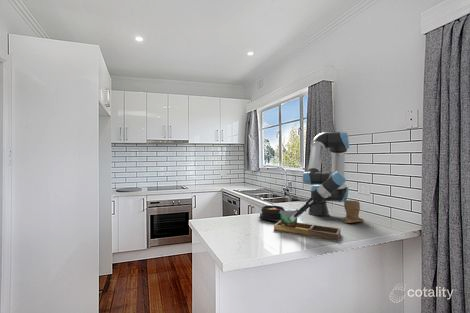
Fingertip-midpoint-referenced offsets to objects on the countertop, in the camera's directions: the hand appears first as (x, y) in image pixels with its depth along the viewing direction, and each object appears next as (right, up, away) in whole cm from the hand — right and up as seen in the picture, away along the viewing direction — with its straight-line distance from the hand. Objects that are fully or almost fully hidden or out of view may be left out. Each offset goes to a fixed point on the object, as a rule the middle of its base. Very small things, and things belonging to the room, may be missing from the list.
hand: (293, 217), depth 151 cm
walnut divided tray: (+7, -8, -3) cm, 11 cm away
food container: (-1, -5, -1) cm, 6 cm away
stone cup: (+45, -8, +23) cm, 52 cm away
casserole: (-8, -8, +27) cm, 29 cm away
